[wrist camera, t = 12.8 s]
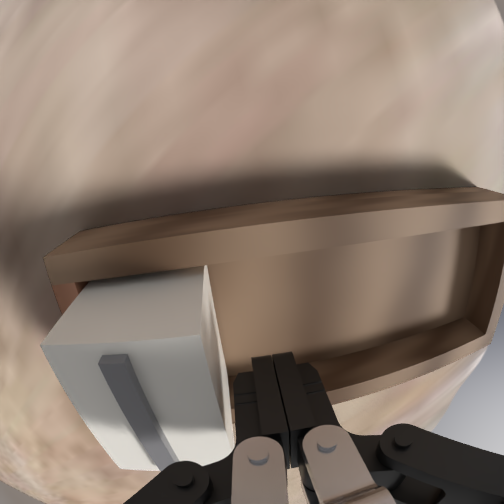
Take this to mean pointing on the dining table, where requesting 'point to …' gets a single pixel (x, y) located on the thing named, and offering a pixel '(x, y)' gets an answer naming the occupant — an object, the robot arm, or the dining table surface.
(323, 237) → the wooden tray
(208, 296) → the slider block
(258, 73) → the dining table surface
